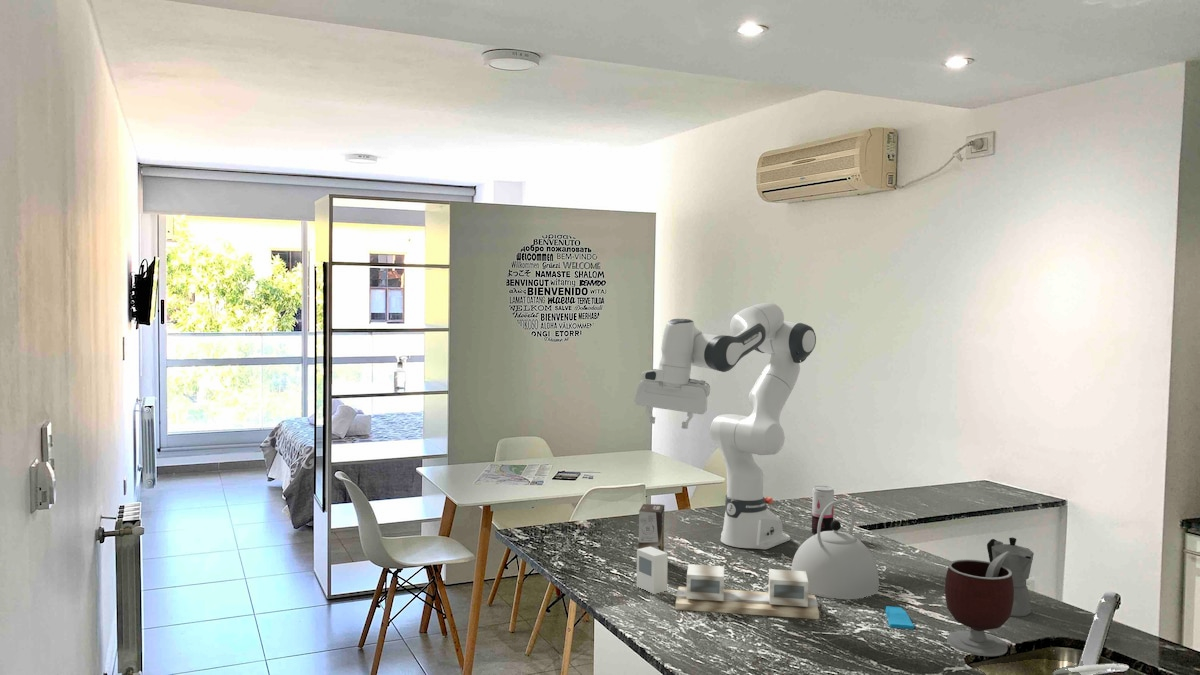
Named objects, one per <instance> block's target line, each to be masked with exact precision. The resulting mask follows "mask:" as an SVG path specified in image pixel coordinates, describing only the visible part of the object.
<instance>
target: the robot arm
mask: <svg viewBox="0 0 1200 675" xmlns="http://www.w3.org/2000/svg"><path fill="white" fill-rule="evenodd" d="M666 322H667V323H666V324H665V328H664V330H663V335H662V340H661V347H660V348H661V359H660V360H659V365H658V368H655V369H654V368H653V369H651V370H645V371H643V372H641V374H640V375H641V380H640V381H638V384H637V386H636V390H635V395H634V403H635V405H637V406H641V407H645V411H646V413H647V416H648V424H652V425H654V424H655V423H656V416H653V414H652V411H653V408H655V409H662V410H668V411H669V410H670V411H675V412H676V411H677V412H682V413H686V414H687V415H686V417H688V418H687V419H686V420H685V421H681V429H685V430H688V428H689V424H690V422H691V421H692V419H693V418H694V414H697V415H704V414H706V412H707V411H708V397H709V395H710V391H711V386H710V384H709V383H707V382H706V380H703V379H702V380H699V379H694V378H691V371H692V366H693V367H698V368H704V369H711V370H714V371H717V372H722V373H726V372H729V371H731V370H732V369H733V368H735V366H736V365H737V364H738V362H740V361H741V359H742V358H744V357H745V356H746V355H748V354H749V353H751V352H753V351H755V352H759V353H761V354H767V355H770V357H769V358H770V359H769V362H768V363H767V364H766V366H764V368H763V370H762V371H761V373H760V374H759V376H758V377H757V379H756V381H755V383H754V384H753V386H752V387H751V390H750V392H749V393H748V401H749V404H750V406H751V408H752V409H753V410H752V412H751V413H750V415H740V414H736V413H725V414H720V415H719V414H718V415H717V416H715V417H714V418H713V420H712V421H711V424H710V427H709V434H710V439H711V440H712V442H713V443H714V444H715V445H716V447H717V448H718V450H719V451H720V453H721V456H722V458H723V462H724V465H725V470H726V495H725V500H724V502H725V503H724V507H725V513H724V519H723V527H722V531H721V532H720V533H721V534H720V536H721V537H720V542H721V543H722V544H724V545H727V546H730V547H734V548H740V549H741V548H742V549H758V550H768V549H771V548H773V547H775V546H778V545H781V544H783V543H786V542H789V541H790V540H791V536H790V535H789V534H787V533H785V532H784V531H783V523H782V520H781V518H779V517H778V516H777V515H776V514H774V513H773V512H772V511H771V510H770V509H769V508H768V505H772V504H773V503H774V499H773V497H769V496H766V497H764V478H765V477H764V476H765V475H764V471H763V469H762V468H761V467H760V466H759V464H757V462H756V461H755V459H754V457H753V455H758V456H772V455H776V454H778V453H779V452H780V451H781V449H783V446H784V443H785V438H786V437H785V432H784V429H783V427H782V426H781V423H780V422H781V421H780V417H781V412H782V411H783V408H784V406H785V404H786V402H787V401H788V399H789V397H790V395H791V393H792V391H793V389H794V387H795V385H796V383H797V381H798V377H799V375H800V371H801V366H800V364H801V363H803V362H805V361H806V359H808V357H809V356H810V355H811V354H812V352H813V351H814V349H815V348H816V343H817V336H816V333H815V330H814V328H813V327H812V326H810V325H808V324H806V323H803V322H794V321H788V320H785V315H784V312H783V310H782V308H781V307H780V306H779V305H777V304H776V303H773V302H762V303H757V304H756V303H755V304H754V305H751V306H748V307H745V308H743V309H741V310H739V311H737V312H736V313H735V314H734V315H733V316H732V318H731V320H730V323H729V329H730V330H729V331H730V334H731V335H726V334H725V335H723V334H722V335H721V334H720V335H719V334H713V333H704V332H703V331H701V330H699V329H698V328H697V327H696V325H695V322H694V320H693V319H689V318H673V319H670V320H668V321H666ZM767 504H768V505H767Z"/></svg>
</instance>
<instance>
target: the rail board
mask: <svg viewBox="0 0 1200 675" xmlns="http://www.w3.org/2000/svg"><path fill="white" fill-rule="evenodd" d="M818 606H819V603H818V601H817V598H816V595H812V594H809V593H808V579H807V574H806V571H792V570H791V569H789V570H788V569H773V568H768V591H756V590H752V591H751V590H741V589H739V590H737V589H725V565H723V566H722V565H708V564H707V565H705V564H704V565H703V564H694V563H693V564H689V563H688V565H687V572H686V586H678V588H677V591H676V599H675V606H674V608H675V610H680V611H681V610H682V611H696V612H708V613H709V612H711V613H726V614H738V615H739V614H740V615H752V616H769V617H781V618H782V617H783V618H794V619H795V618H798V619H810V620H820V611H819V608H818Z"/></svg>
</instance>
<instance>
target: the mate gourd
mask: <svg viewBox="0 0 1200 675" xmlns="http://www.w3.org/2000/svg"><path fill="white" fill-rule="evenodd" d="M1007 555H1010V553H1009V552H1008V551H1007V552H1005V553H1003V554H1001V555H1000V556H998V557H996V558H995V559H994V560H993V561H992V562H990V561H986V560H978V559H956V560H953V561H950V562H949V563H948V568H947V571H946V575H945V581H944V596H945V603H946V607H947V610H948V612H950V614H951V615H952V617H953V619H954V620H955V621H956V622H958V623H960V624H961V625H964V626H965V627H968V628H969V629H970V630H958V631H957V630H956V631H953V632H950V633H949V634H947V637H946V641H947V643H948V644H949V645H950V646H951V647H952V648H954V649H956V650H958V651H960V652H962V651H963V652H962V653H965V652H966V654H969V653H971V654H970V655H974V656H979V657H982V656H983V657H998V656H999V657H1000V656H1003V655H1005V654H1006V653H1007V652H1008V647H1009V646H1008V644H1007V642H1006V641H1004V640H1002V639H1001V638H1000V637H997V636H995V635H992V634H988V633H986V632H985V631H988V630H995V629H1000V628H1001V627H1002V626H1003V625H1004V624H1005V623H1006V622H1007V621H1008V620H1009V619H1010V618H1011V616H1010V615H1011V611H1012V607H1013V601H1014V586H1013V579H1012V572H1011V570H1009V569H1008V568H1006V567H1004V566H1002V563H1003V561H1004V559H1005V558H1006V557H1007Z"/></svg>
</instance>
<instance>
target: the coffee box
mask: <svg viewBox="0 0 1200 675" xmlns="http://www.w3.org/2000/svg"><path fill="white" fill-rule="evenodd" d="M650 546H651V547H653V548H656V549H658V550H661V551H663V552H665V504H656V503H655V504H654V503H653V504H652V503H651V504H650V503H649V504H647V503H643V504H642V506H641V507H640V509H639V510H638V547H637V549H641V548H645V547H650Z"/></svg>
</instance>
